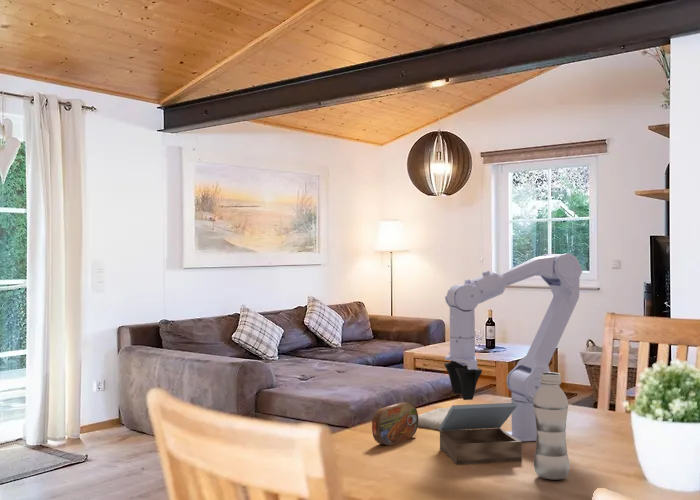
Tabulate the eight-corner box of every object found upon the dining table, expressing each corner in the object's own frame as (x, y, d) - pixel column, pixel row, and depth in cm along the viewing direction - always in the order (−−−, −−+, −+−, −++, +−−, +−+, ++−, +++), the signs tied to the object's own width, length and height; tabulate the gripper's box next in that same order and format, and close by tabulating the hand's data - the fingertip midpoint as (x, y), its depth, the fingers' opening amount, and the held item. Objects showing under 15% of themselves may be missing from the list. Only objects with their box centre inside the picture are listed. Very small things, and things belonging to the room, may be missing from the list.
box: (500, 445, 163) (500, 428, 163) (521, 460, 151) (521, 441, 151) (439, 449, 161) (439, 431, 161) (456, 464, 149) (456, 445, 149)
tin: (380, 449, 162) (380, 411, 162) (369, 446, 164) (369, 409, 164) (419, 435, 173) (419, 400, 173) (408, 433, 175) (408, 398, 175)
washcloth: (488, 421, 189) (488, 409, 189) (452, 434, 175) (452, 422, 175) (449, 415, 197) (449, 403, 197) (411, 427, 183) (411, 415, 183)
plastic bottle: (564, 485, 135) (563, 377, 135) (528, 480, 139) (528, 374, 139) (574, 476, 140) (573, 372, 141) (539, 471, 144) (538, 370, 144)
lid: (500, 427, 163) (499, 424, 164) (517, 406, 153) (516, 402, 154) (439, 430, 161) (438, 426, 161) (452, 408, 151) (452, 404, 152)
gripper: (436, 334, 173) (436, 391, 173) (455, 341, 159) (455, 403, 159) (464, 333, 175) (465, 390, 174) (486, 340, 160) (486, 402, 160)
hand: (462, 396), depth 167 cm, fingers open, 7 cm apart
